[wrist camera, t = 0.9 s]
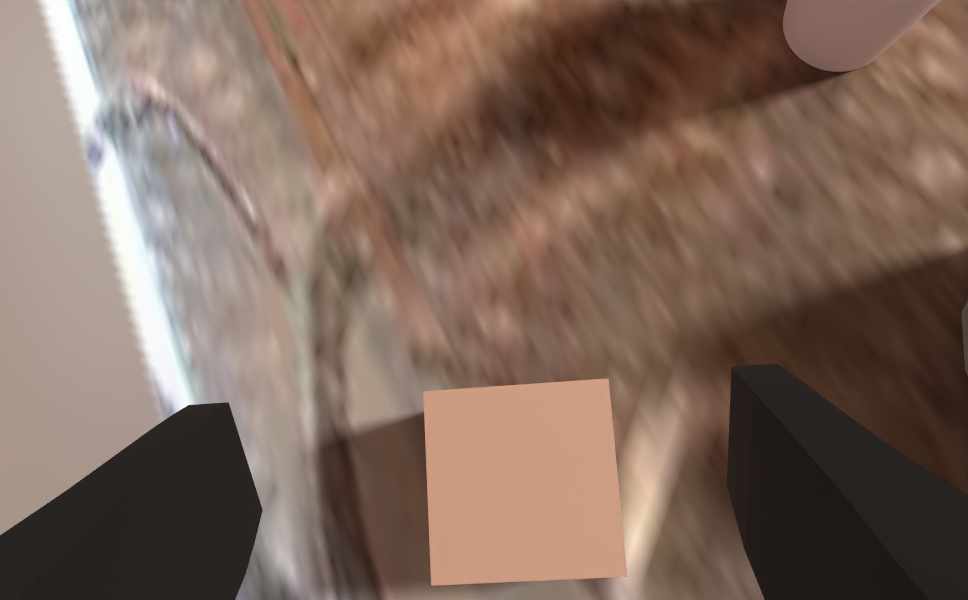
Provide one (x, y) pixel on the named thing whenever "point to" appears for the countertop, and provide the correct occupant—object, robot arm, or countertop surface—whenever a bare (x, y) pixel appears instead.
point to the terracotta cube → (522, 483)
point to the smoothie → (848, 29)
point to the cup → (965, 334)
